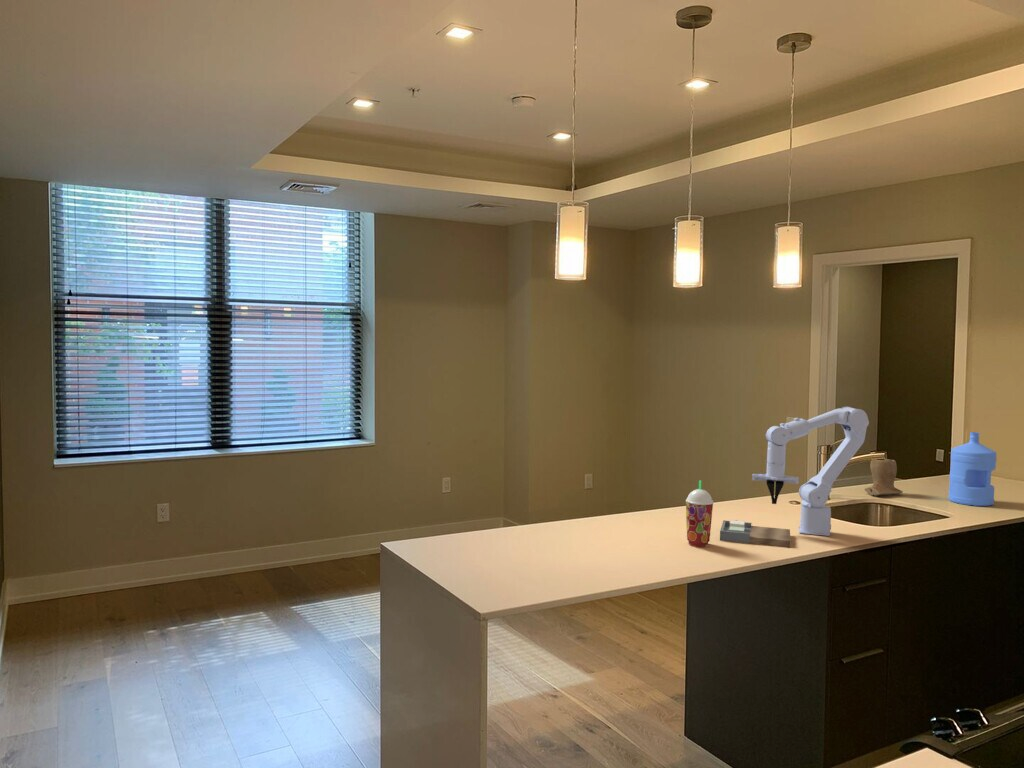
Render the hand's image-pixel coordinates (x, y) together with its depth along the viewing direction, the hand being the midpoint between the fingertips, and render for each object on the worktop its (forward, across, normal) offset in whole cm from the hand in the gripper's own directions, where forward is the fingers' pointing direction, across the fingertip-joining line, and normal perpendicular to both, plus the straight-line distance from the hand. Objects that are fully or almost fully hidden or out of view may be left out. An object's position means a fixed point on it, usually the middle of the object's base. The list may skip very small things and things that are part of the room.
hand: (774, 503), depth 256 cm
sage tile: (+8, -11, -14) cm, 20 cm away
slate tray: (+10, -11, -11) cm, 18 cm away
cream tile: (+8, -11, -9) cm, 16 cm away
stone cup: (+9, +42, +82) cm, 93 cm away
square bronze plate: (+9, -1, -11) cm, 14 cm away
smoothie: (+10, -22, -26) cm, 35 cm away
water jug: (+9, +74, +79) cm, 109 cm away
